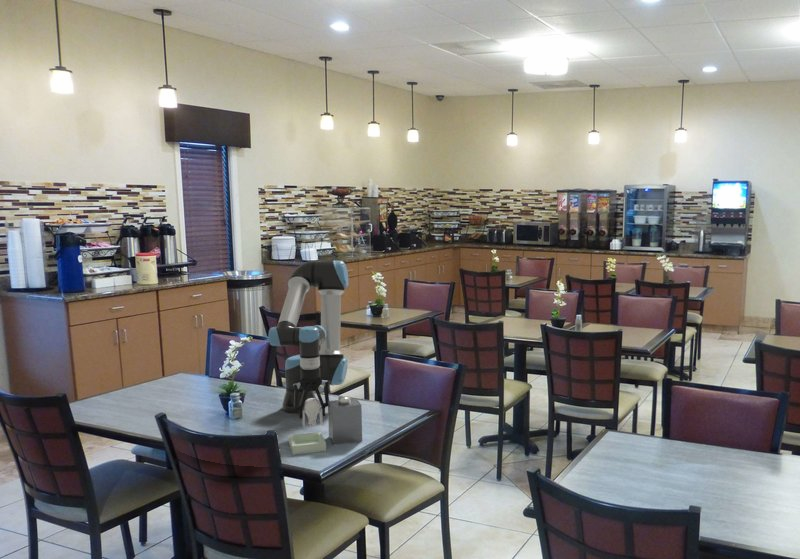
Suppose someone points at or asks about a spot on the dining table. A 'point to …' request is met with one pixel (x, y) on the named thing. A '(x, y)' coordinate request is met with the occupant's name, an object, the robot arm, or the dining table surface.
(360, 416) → the housing
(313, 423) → the light bulb
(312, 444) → the tray
